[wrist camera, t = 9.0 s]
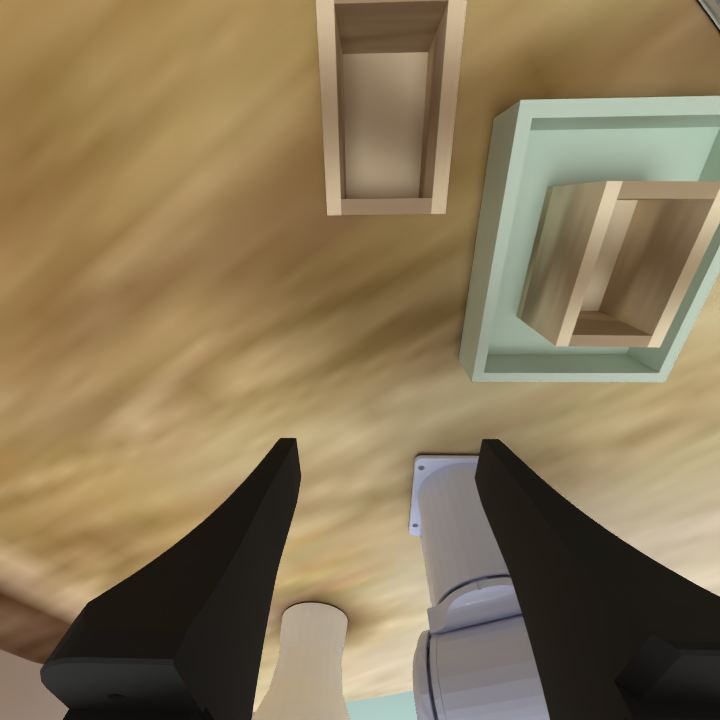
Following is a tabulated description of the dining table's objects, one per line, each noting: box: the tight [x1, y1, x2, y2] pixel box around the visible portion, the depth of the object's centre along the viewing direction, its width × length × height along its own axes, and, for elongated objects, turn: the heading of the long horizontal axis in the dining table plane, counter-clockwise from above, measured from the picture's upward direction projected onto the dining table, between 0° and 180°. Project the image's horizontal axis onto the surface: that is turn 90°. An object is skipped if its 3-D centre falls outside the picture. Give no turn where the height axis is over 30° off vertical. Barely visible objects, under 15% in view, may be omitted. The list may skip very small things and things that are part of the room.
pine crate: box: [516, 181, 720, 348], centre depth 16 cm, size 7×5×4 cm
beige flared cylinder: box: [252, 603, 350, 720], centre depth 30 cm, size 11×11×15 cm
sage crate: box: [459, 96, 720, 382], centre depth 17 cm, size 13×11×3 cm
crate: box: [316, 0, 467, 215], centre depth 14 cm, size 7×5×4 cm
